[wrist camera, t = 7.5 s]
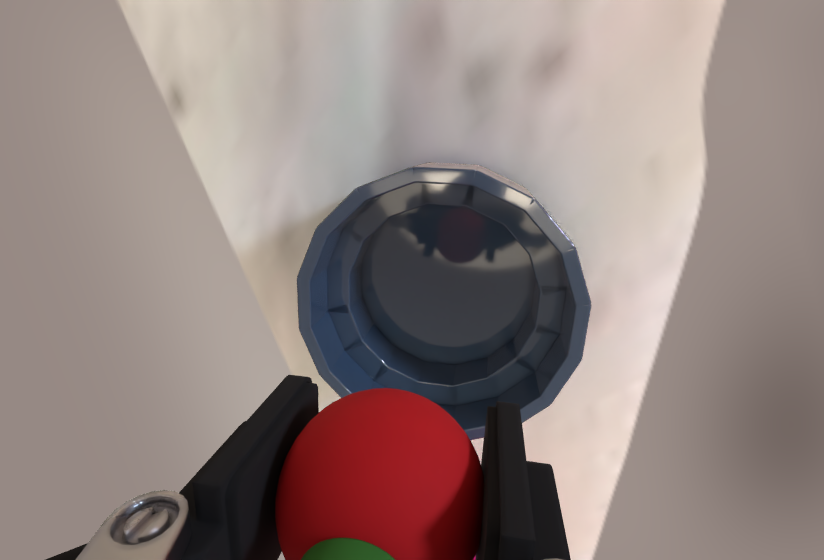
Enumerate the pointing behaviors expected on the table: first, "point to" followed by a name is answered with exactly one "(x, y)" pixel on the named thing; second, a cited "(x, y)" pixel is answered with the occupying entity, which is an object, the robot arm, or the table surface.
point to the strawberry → (380, 483)
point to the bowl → (445, 293)
